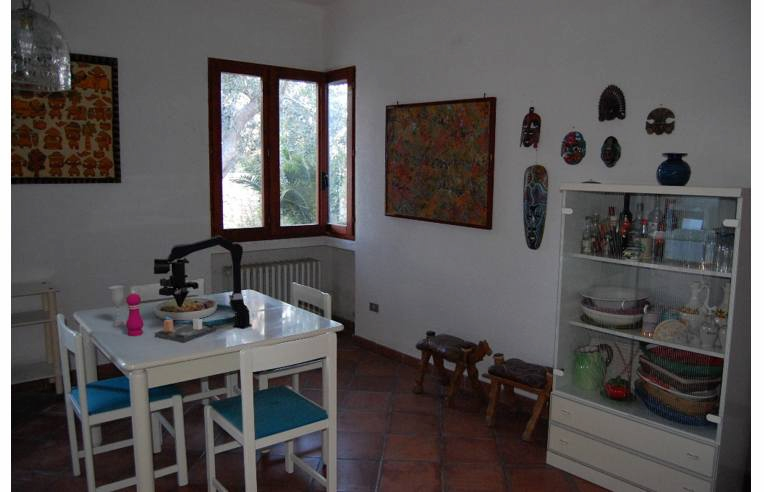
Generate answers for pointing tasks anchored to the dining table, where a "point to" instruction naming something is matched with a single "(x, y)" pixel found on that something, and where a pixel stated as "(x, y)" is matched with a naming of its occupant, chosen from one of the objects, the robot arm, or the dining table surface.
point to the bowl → (186, 309)
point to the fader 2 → (197, 323)
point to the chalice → (117, 301)
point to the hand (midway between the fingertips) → (179, 307)
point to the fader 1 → (168, 325)
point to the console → (185, 332)
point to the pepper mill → (134, 315)
